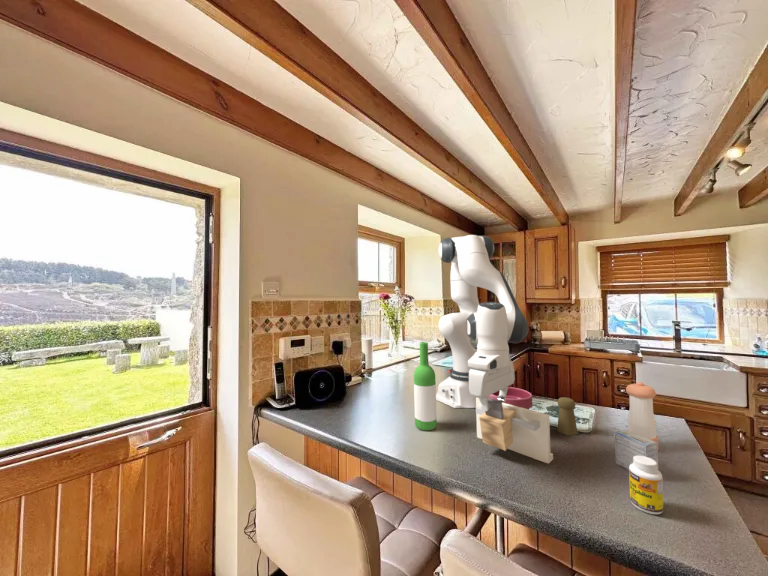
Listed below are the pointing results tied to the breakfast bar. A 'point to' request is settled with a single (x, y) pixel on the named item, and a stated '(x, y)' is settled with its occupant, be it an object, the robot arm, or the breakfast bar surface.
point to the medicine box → (633, 448)
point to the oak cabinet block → (497, 425)
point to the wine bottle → (425, 392)
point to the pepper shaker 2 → (642, 411)
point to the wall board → (526, 432)
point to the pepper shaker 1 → (566, 416)
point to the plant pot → (515, 397)
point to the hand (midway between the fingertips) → (494, 405)
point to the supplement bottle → (646, 485)
